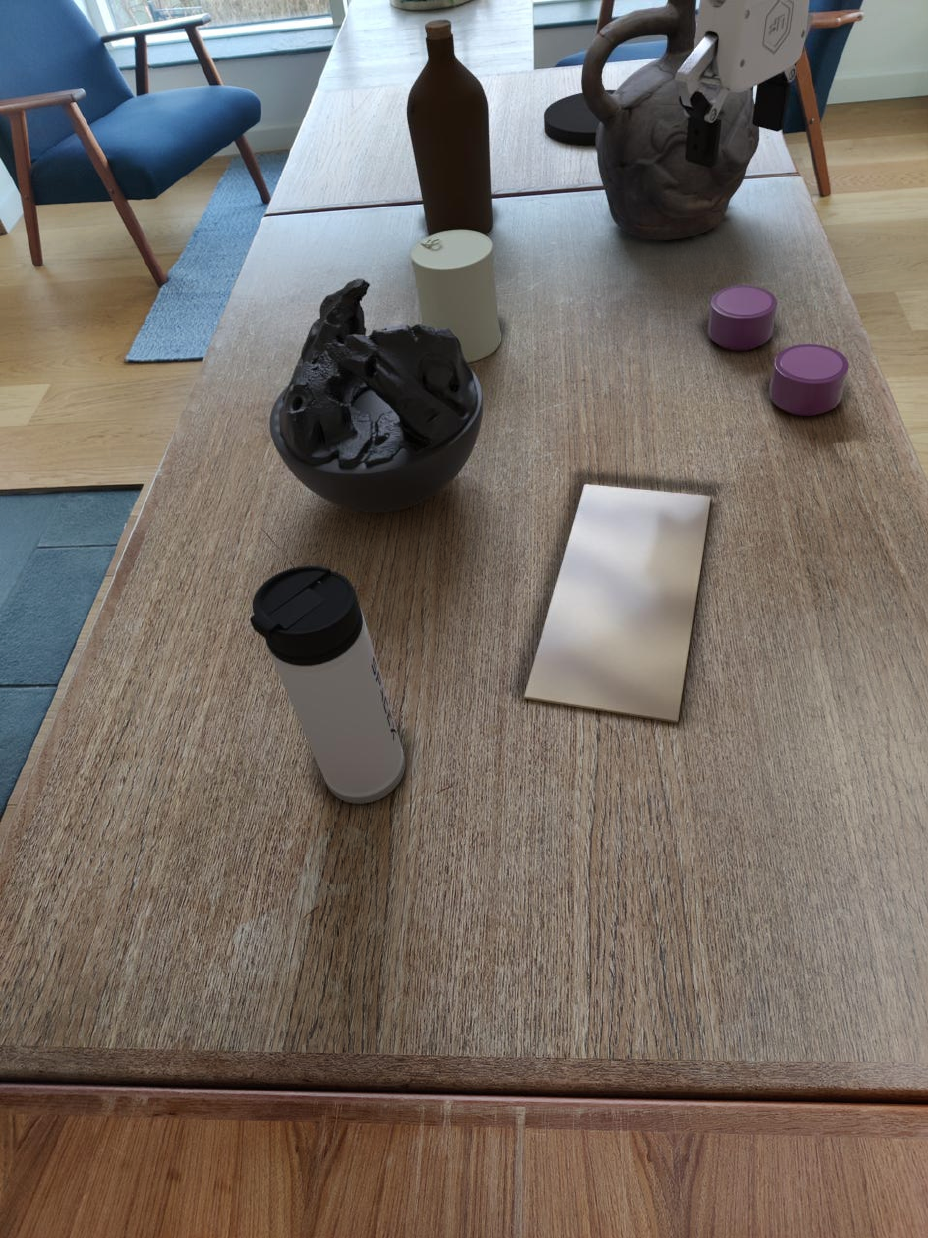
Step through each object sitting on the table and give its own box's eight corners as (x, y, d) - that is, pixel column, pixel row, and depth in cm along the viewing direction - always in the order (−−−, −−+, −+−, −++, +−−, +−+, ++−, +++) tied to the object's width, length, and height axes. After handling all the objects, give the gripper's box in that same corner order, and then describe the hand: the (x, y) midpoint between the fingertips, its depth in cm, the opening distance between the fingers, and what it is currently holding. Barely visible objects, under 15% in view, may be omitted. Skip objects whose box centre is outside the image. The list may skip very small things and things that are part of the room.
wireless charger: (536, 112, 151) (535, 99, 149) (639, 96, 151) (640, 83, 149) (554, 152, 139) (554, 139, 137) (666, 135, 139) (667, 121, 137)
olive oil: (477, 249, 121) (456, 39, 102) (410, 240, 125) (378, 36, 106) (509, 214, 127) (496, 9, 108) (444, 206, 130) (420, 8, 112)
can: (454, 314, 110) (442, 218, 101) (516, 332, 106) (509, 233, 97) (409, 352, 106) (392, 255, 97) (471, 371, 101) (460, 272, 92)
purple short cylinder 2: (825, 377, 94) (834, 338, 90) (849, 416, 89) (859, 377, 86) (759, 386, 94) (765, 348, 90) (780, 425, 89) (787, 387, 86)
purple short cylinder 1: (760, 317, 102) (766, 280, 99) (779, 350, 98) (786, 312, 94) (700, 326, 103) (703, 289, 99) (716, 359, 98) (720, 321, 95)
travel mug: (305, 777, 68) (224, 602, 53) (367, 721, 71) (307, 540, 56) (359, 824, 65) (290, 652, 50) (422, 763, 67) (374, 584, 52)
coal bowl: (449, 573, 80) (420, 399, 66) (260, 537, 86) (196, 370, 72) (517, 440, 92) (504, 268, 78) (346, 415, 98) (306, 252, 84)
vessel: (672, 287, 109) (694, 0, 86) (542, 239, 120) (532, -25, 98) (787, 212, 118) (833, -65, 96) (657, 174, 130) (671, -81, 108)
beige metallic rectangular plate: (584, 486, 86) (584, 483, 86) (710, 498, 83) (711, 496, 83) (524, 698, 70) (523, 696, 70) (677, 723, 67) (678, 721, 67)
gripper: (731, -51, 64) (706, 189, 77) (869, -107, 71) (825, 123, 84) (652, -61, 69) (641, 168, 81) (789, -114, 75) (759, 106, 88)
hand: (734, 145), depth 83 cm, fingers open, 9 cm apart
